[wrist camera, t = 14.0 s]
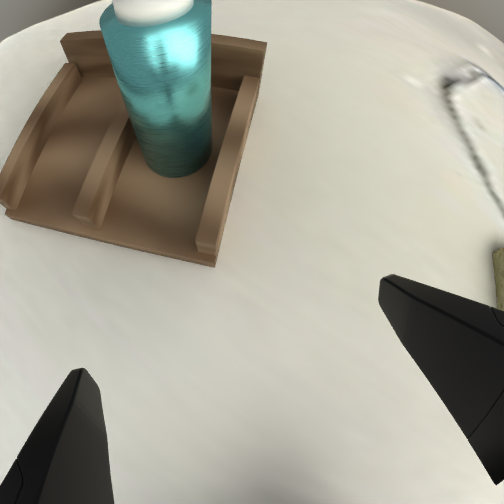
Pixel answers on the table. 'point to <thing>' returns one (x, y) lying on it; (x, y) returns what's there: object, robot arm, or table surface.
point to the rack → (128, 157)
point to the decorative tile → (499, 277)
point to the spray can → (164, 78)
